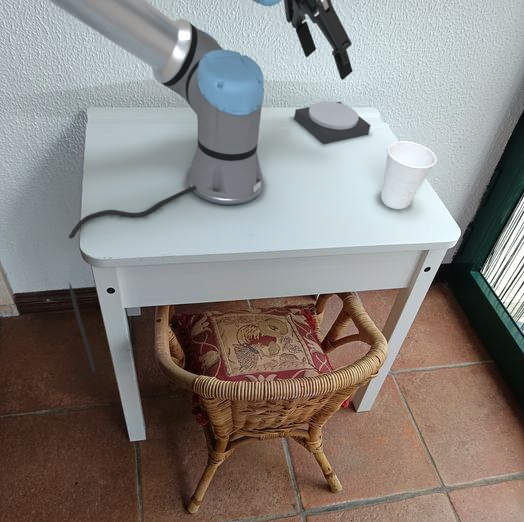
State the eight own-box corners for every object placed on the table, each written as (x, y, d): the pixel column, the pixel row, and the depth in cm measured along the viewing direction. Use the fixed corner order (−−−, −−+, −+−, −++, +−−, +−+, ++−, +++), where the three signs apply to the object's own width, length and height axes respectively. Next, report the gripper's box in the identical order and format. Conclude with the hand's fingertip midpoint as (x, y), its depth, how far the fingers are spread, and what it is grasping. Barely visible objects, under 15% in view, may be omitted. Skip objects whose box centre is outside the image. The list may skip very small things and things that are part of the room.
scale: (323, 144, 117) (326, 130, 114) (294, 118, 123) (296, 105, 121) (368, 134, 122) (371, 121, 120) (337, 110, 129) (340, 97, 126)
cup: (415, 192, 108) (433, 145, 99) (419, 218, 102) (440, 171, 93) (370, 185, 108) (386, 137, 99) (372, 211, 101) (389, 163, 93)
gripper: (351, -35, 82) (377, 72, 100) (274, -67, 95) (309, 33, 113) (317, -3, 82) (349, 97, 100) (245, -39, 96) (284, 55, 114)
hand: (328, 63), depth 107 cm, fingers open, 13 cm apart
